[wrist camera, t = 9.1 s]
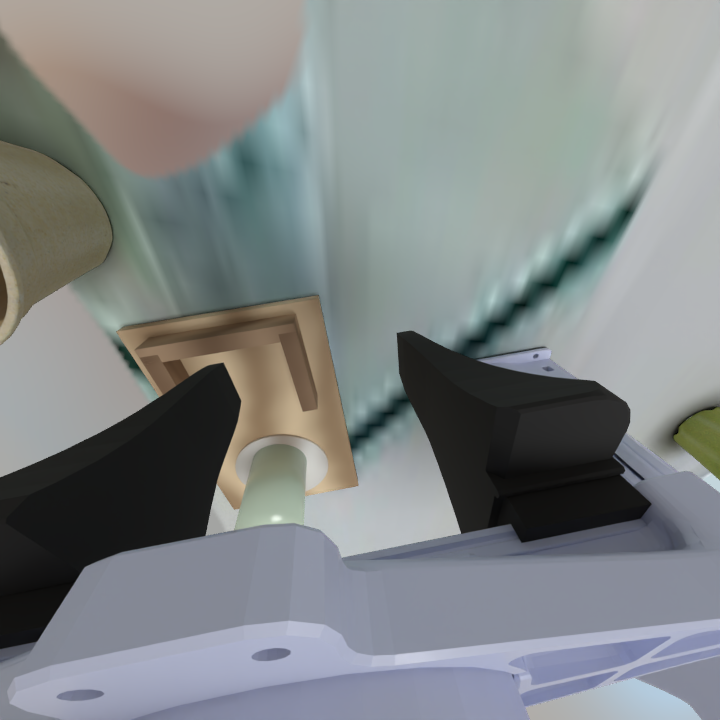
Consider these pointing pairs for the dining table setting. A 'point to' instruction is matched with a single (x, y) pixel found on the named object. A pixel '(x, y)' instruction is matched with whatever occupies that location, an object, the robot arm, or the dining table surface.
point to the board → (260, 384)
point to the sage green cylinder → (274, 488)
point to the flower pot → (43, 231)
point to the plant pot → (702, 438)
